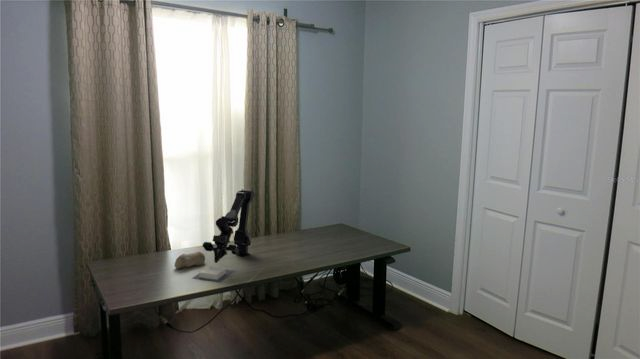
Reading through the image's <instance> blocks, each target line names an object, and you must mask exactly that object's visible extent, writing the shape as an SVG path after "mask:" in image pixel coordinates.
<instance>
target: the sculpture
mask: <svg viewBox="0 0 640 359" xmlns="http://www.w3.org/2000/svg"><path fill="white" fill-rule="evenodd" d="M205 262H206V257H205V254H204V253H203V252H201V251H196V252H192V253H188V254H187V253H183V254H180V255H179V256H178V257H177V258H176V259H175V263H174V267H175V269H176V270H181V269H182V268H190V267H192V266H203V265H204V263H205Z"/></svg>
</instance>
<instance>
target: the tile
mask: <svg viewBox="0 0 640 359" xmlns="http://www.w3.org/2000/svg"><path fill="white" fill-rule="evenodd" d="M226 269H227V268H226V267H219V266H213V265H208V266H206V267H204V268H203V269H202V270H200V271H199V273H198V274H199V278H203V279H210V280H218V279H220V278H221V277H222V276H224V275H225V274H226Z"/></svg>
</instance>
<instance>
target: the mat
mask: <svg viewBox="0 0 640 359" xmlns="http://www.w3.org/2000/svg"><path fill="white" fill-rule="evenodd" d="M235 272H236V270H234V269H227V268H226V274H225V275H224V276H222V277H221V278H220V279H218V280H210V279H203V278H199V273H198V274H196V275H194V276H193V277H192V278H191V280H192V279H193V280H197V281H204V282H207V281H208V282H211V283H222V282H224V281H225V280H226V279H227V278H229V277H230V276H231V275H232V274H233V273H235Z"/></svg>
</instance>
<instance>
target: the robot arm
mask: <svg viewBox="0 0 640 359" xmlns="http://www.w3.org/2000/svg"><path fill="white" fill-rule="evenodd" d="M254 197H255V191H253V189H248V188H247V189H246V188H242V189H241V190H238V191H237V192H236V194H235V199H234V201H233V203H232V205H231V208H230V210H229V211H228V212H226V214H225V216H223V215H221V217H220V218H218V219H216V220H215V226H216V227H217V229H218V231H219V232H220V233H219V234H218V235H213V238H212V242H214V244H213V243H212V242H211V241H204V242H203V243H202V247H203V249H204V250H205V251H207V252H212V251H213V254H214V256H213V257H214V259H213V260H214V263H216V264H217V263H218V262H219V261H220V260H221V259H222V258H223V257H225V256H226V255H228V252H231V254H232V255H236V256H238V257H239V256H240V257H245V256H248V255H250V254H251V253H250V252H249V246H251V245H252V240H251V238H250V236H249V234H250V232H249V231H248V221H249V220H248V219H249V214H250V204H252V202H253V200H254ZM239 213H240V215H239ZM237 226H238V228H237V229H236V230H235V231H234V230H233V228H235V227H237ZM232 234H234V235H233V244H229V243H230V242H231V236H232Z"/></svg>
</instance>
